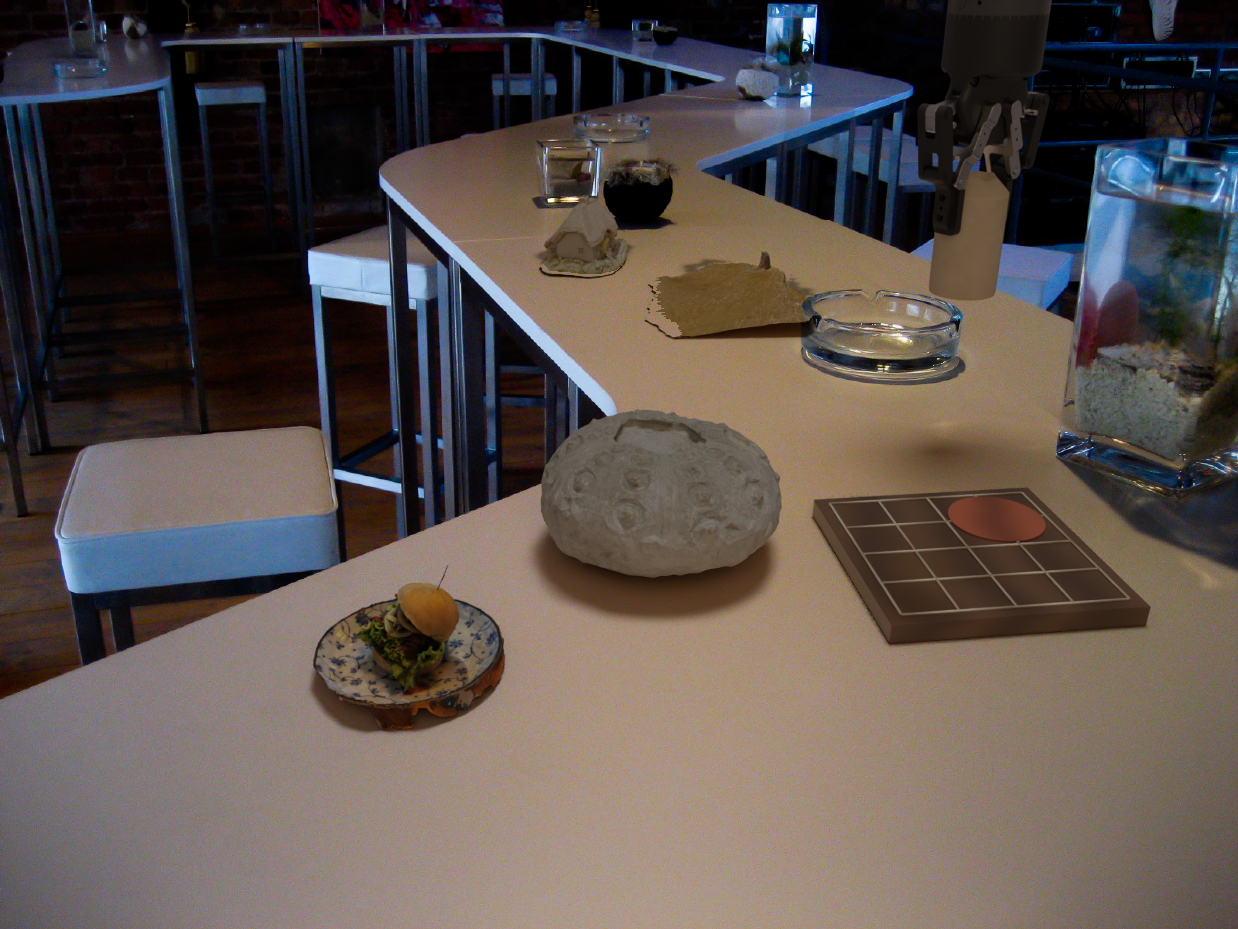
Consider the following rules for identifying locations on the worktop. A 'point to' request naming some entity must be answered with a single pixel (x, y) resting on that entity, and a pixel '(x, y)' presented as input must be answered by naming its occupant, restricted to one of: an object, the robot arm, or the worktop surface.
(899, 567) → the board
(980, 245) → the candle
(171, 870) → the worktop surface
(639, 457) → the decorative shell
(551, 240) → the ceramic model
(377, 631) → the burger
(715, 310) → the leather hide
